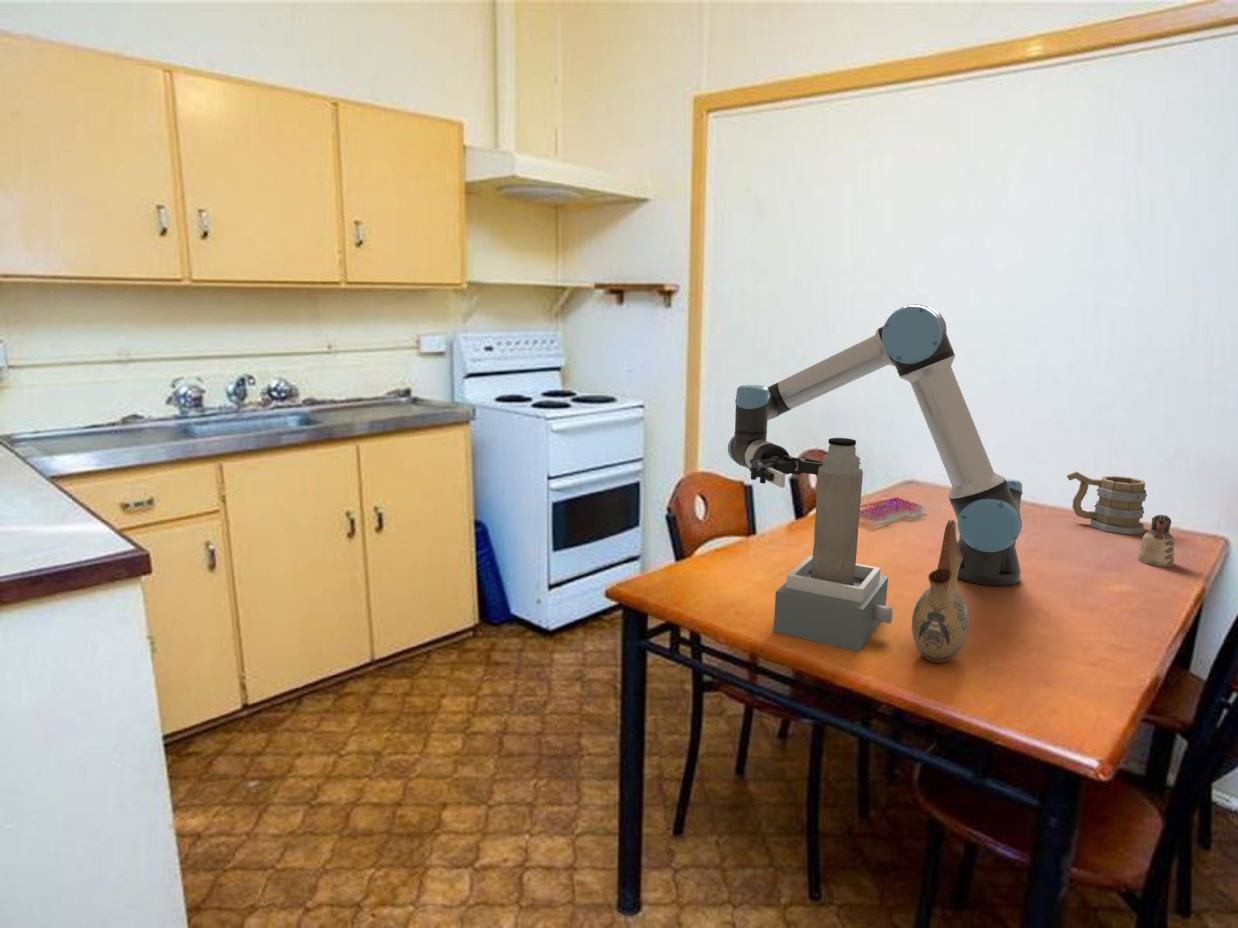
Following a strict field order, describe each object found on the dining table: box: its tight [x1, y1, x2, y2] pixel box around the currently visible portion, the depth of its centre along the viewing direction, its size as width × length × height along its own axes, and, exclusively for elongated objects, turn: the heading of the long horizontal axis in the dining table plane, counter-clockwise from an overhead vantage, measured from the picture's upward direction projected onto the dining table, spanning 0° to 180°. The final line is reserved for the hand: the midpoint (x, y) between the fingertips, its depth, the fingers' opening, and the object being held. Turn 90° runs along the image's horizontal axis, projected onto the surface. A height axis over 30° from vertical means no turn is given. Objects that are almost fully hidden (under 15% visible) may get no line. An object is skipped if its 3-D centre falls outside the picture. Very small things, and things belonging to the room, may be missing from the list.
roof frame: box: [859, 496, 929, 530], centre depth 227 cm, size 30×15×5 cm, turn 126°
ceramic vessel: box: [911, 519, 970, 664], centre depth 134 cm, size 16×9×25 cm, turn 148°
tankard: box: [1066, 471, 1148, 536], centre depth 220 cm, size 20×13×15 cm, turn 58°
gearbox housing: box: [773, 555, 894, 653], centre depth 149 cm, size 19×20×10 cm
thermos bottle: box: [811, 437, 864, 586], centre depth 146 cm, size 8×8×28 cm
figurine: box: [1138, 514, 1175, 568], centre depth 189 cm, size 7×7×12 cm
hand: (814, 479), depth 156 cm, fingers open, 13 cm apart
